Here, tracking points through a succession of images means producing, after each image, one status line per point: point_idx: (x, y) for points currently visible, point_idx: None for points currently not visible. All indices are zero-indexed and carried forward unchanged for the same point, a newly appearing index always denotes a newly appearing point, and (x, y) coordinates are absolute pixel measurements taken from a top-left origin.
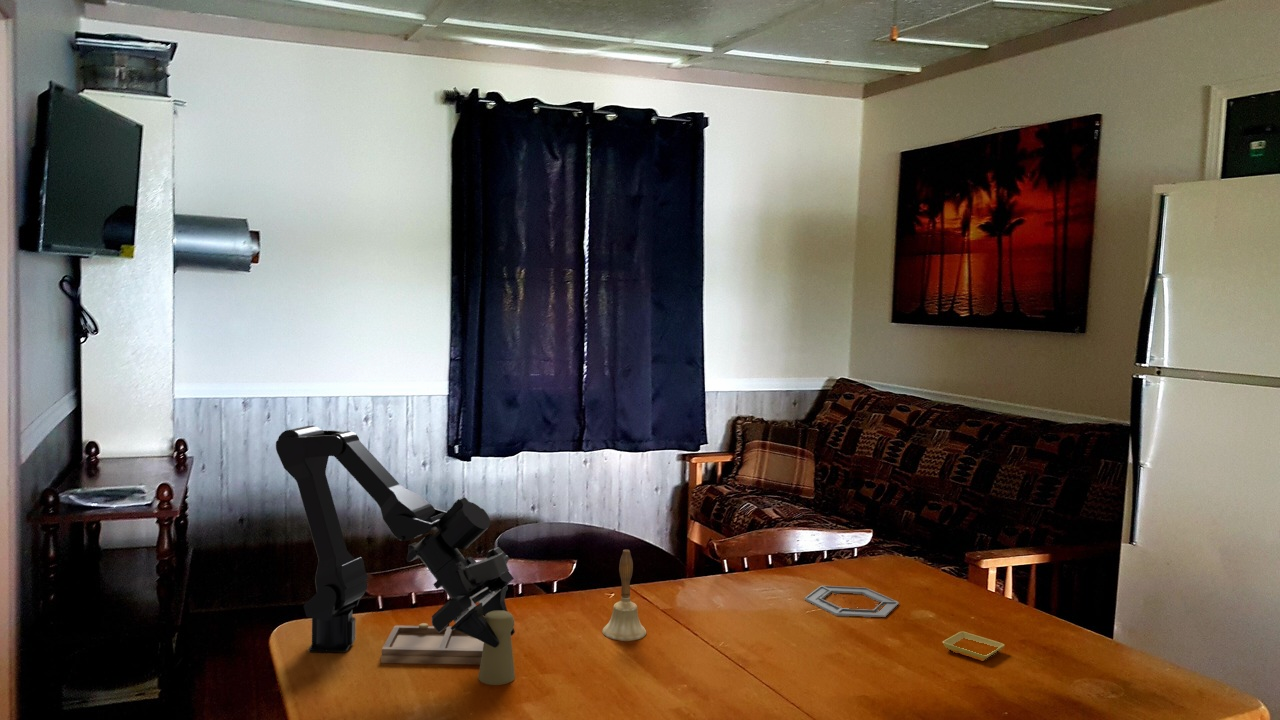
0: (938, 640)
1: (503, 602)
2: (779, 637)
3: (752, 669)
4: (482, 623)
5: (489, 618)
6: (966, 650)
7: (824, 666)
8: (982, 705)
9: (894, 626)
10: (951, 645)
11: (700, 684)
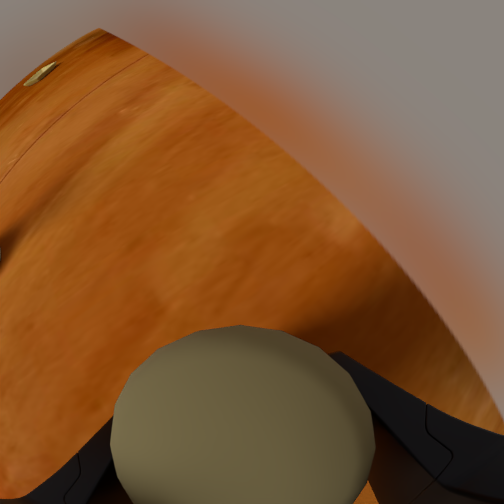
0: (25, 92)
1: (40, 501)
2: (6, 140)
3: (70, 106)
4: (462, 423)
5: (363, 471)
6: (48, 68)
7: (61, 89)
8: (113, 39)
9: (3, 115)
10: (41, 74)
11: (115, 105)
